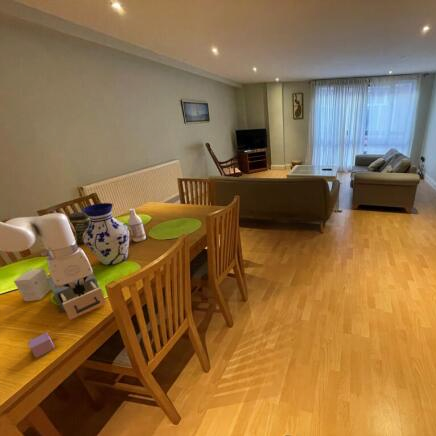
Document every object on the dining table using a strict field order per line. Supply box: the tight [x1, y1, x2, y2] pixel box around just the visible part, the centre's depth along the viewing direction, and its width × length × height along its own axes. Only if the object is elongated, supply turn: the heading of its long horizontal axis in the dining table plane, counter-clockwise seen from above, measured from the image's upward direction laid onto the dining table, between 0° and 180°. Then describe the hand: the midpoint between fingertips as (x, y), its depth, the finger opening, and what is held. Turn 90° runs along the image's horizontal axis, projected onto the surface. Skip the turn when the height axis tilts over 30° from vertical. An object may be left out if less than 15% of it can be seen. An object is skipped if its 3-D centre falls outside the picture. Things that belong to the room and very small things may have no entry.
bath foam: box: [127, 208, 147, 243], centre depth 145 cm, size 7×7×20 cm
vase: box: [81, 202, 131, 266], centre depth 122 cm, size 19×19×30 cm
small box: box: [13, 268, 52, 302], centre depth 100 cm, size 8×6×10 cm
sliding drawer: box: [59, 281, 107, 321], centre depth 93 cm, size 18×11×7 cm, turn 52°
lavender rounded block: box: [28, 331, 55, 359], centre depth 77 cm, size 4×4×4 cm
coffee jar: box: [68, 211, 90, 244], centre depth 145 cm, size 10×8×19 cm
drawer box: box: [47, 274, 100, 313], centre depth 100 cm, size 15×13×9 cm
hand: (80, 293), depth 87 cm, fingers closed
